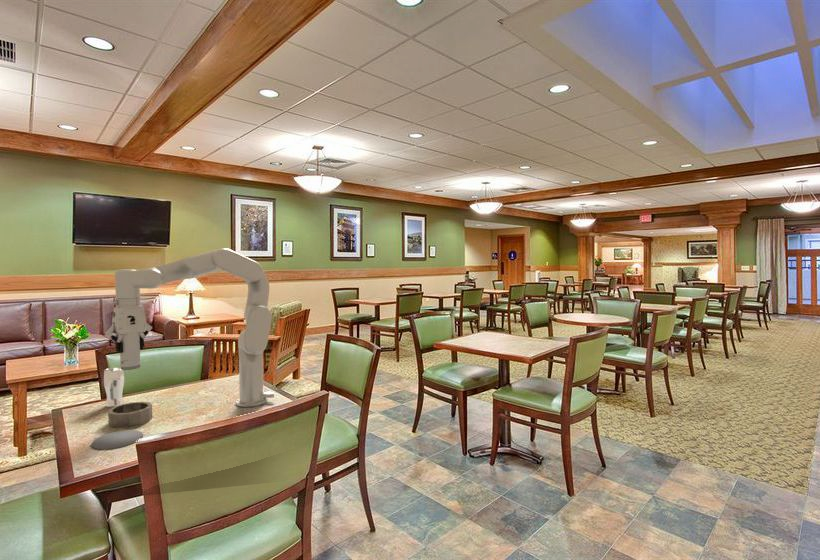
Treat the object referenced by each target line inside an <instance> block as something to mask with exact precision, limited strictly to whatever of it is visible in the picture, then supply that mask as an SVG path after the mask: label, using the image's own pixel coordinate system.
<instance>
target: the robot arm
mask: <svg viewBox="0 0 820 560" xmlns="http://www.w3.org/2000/svg"><path fill="white" fill-rule="evenodd" d="M220 271H224V272H227V273H228V274H229V275H233V276H235V277H237V278H240V279H242V280H243V281H245V282H246V284H247V289H248V290H247V296H246V297H247V298H246V303H245V309H244V313H243V319H244V320H245V323H246V324H245V329H244V330H241V332H240V333H239V335H238V337H237V338H238V339H237V347H238V361H239V362H238V363H239V364H238V367H239V369H238V371H239V372H238V373H239V374H238V375H239V377H238V378H239V380H238V381H239V384H238V385H239V398H237V399H236V400H235V405H236V406H237V407H242V408H250V407H259V406H261V405H264V404H266V403H267V402H268V399H272V398H275V392H272V391H266V389H265V388H264V351H265V350H266V348H267V346H268V343H269V336H270V331H271V324H272V313H271V311H270V309H269V307H268V306H269V299H270V298H269V296H270V282H269V278H268V276H267V275H266V273H265V271H264V268H263V266H262V265H261V264H260V263H259V262H258V261H256V260H253V259H251V258H249V257H246V256H244V255H242V254H240V253H238V252H236V251H234V250H232V249H230V248H226V247H224V248H219V249H218V248H217V249H214V250H209V251H206V252H202V253H199V254H194V255H191V256H186V257H184V258H181V259H178V260H176V261H173V262H169V263H165V264H161V265H158V266H154V267H153V266H152V267H150V268H145V269H134V268H133V269H130V268H129V269H127V268H125V269H117V270H116V271H115V272H114V288H115V299H114V300H112V301H111V304H112V305H115V307H113V310H112V311H113V312H112V318H111V319H112V320H111V321H112V322H111V326H110V327H109V328H108V329H107V330H106V331H105V332H104V335H105V336H107V338H109V339H110V340H112V341H113V342H114V343H115V351H116V353H118V354H120V353H122V352H123V343H122V342H121V339H122V337H123V335H125V334H129V333H131V327H132V326H130V324H131V322H130V319H131V318H127V316H134V317H135V323H136V325H135V328H136V332H137V333H139V336H140V350H144V347H145V339H146V336H147V335H148V334H149V333H150V331H151V330H152V329H153V326H152V325H150V324H149V323H148V322H147V317H146V312H145V308H144V305H143V304H141V291H140V290H141V289H148V290H149V289H151V290H152V289H156V288H158V287H160V286H162V285H166V284H169V283H174V282H176V281H182V280H191V279H195V278H199V277H202V276H206V275H210V274H213V273H216V272H220ZM133 323H134V322H133ZM114 334H115V335H114Z"/></svg>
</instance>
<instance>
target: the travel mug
mask: <svg viewBox="0 0 820 560" xmlns="http://www.w3.org/2000/svg"><path fill="white" fill-rule="evenodd" d="M127 318H131V319H130V322H131V324H130V326H132V327H131V333H129V334H125V335H123V337H122V339H121V342H122V343H123V352H122V353H119V358H120V359H119V361H120V367H121V369H122V370H124V371H131V370H137V369H139V368H141V366H142V365H141V349H140V336H139V333H137V332H136V328H135V325H136V323H135V317H134V316H127ZM133 322H134V323H133Z"/></svg>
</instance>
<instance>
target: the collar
mask: <svg viewBox="0 0 820 560" xmlns="http://www.w3.org/2000/svg"><path fill="white" fill-rule="evenodd" d="M107 414H108V416H107V417H108V418H107V421H108V422H107V424H108V426H109V428H114V429H125V428H127V429H128V428H133V427H137V425H138V426H141V425H144V424H146V423H148V422H150V421H151V420H152V419H153V404H152V403H151V402H148V401H135V402H127V403H123V404H121V405H118V406H115V407H110V409H109V410H107Z"/></svg>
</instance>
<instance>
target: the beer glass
mask: <svg viewBox="0 0 820 560" xmlns="http://www.w3.org/2000/svg"><path fill="white" fill-rule="evenodd" d="M124 371H125V370H122V369H121V366H119V367H116V366H115V367H110V368H109V367H108V368H105V369H104V370H103V372H104V373H103V385H104V390H105V394H106V401H105V407H106V408H113V407H115V406H118V405H121V404H124V399H123V390H124V385H125V372H124Z"/></svg>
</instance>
